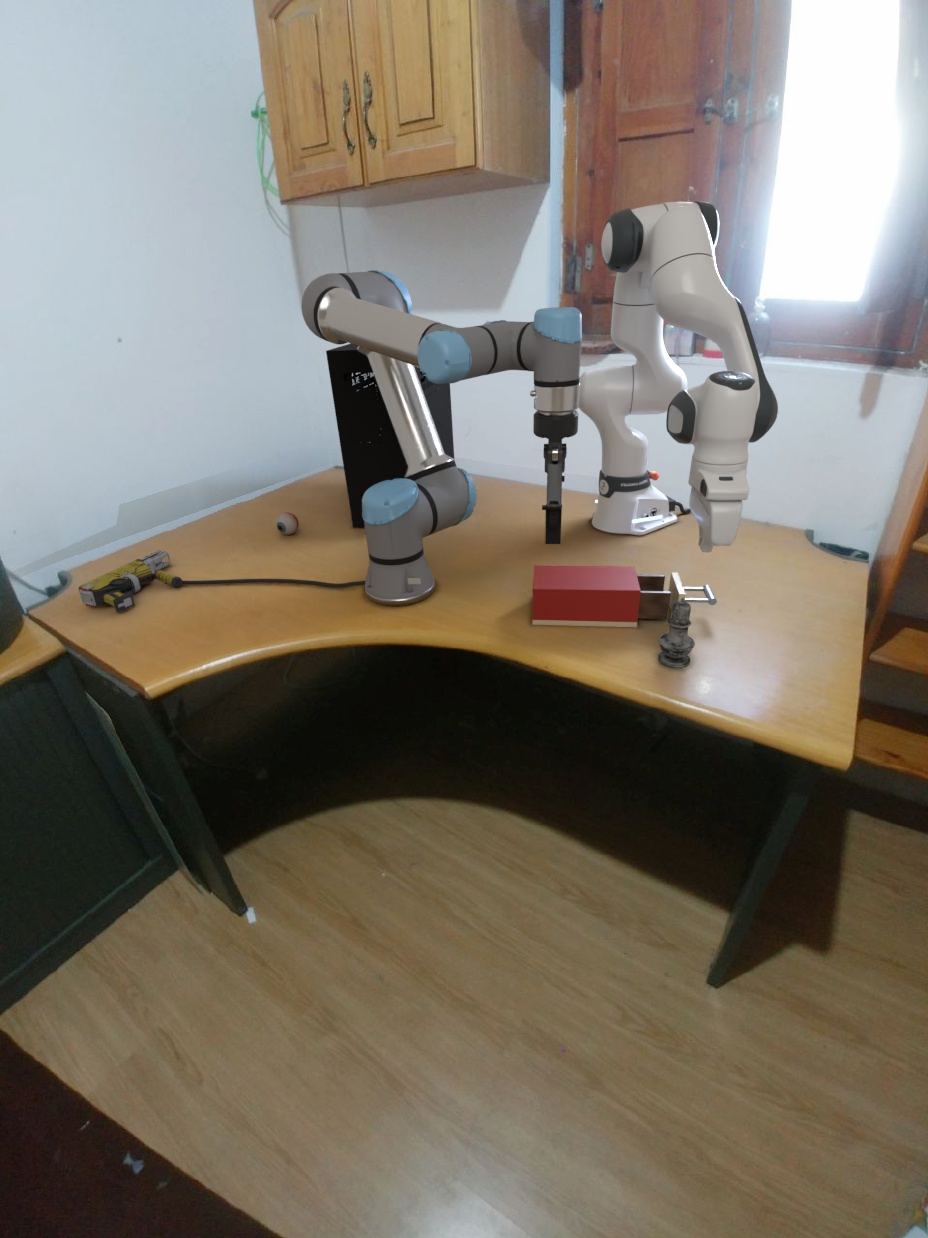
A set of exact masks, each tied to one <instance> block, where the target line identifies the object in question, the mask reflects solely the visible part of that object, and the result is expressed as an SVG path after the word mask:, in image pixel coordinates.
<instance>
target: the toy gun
mask: <svg viewBox="0 0 928 1238" xmlns="http://www.w3.org/2000/svg"><path fill="white" fill-rule="evenodd" d="M166 558H167V559H168V562H167V561H163V559H166ZM171 564H172V563H171V558H170V554H169V552H168V551H166V550H163V551H162V550H161V549H159V550H156V551H155V552H153V553H150V554H148V555H145V556H143V557H142V558H136V559H135V560H133V561H130V562H129V563H126V564H124V565H122V566H120V567H118V568H115V569H113V570H111V571H109V572H107V573H104V574H102V575H101V576H97V577H96V578H93V579H91V580H89V581H87V582H85V583H83V584H81V585H79V586H78V592H79V595H80V599H81V602H82V603H83V604H84V605H85V607H89V608H93V607H105V606H108V605H111V606H112V607H114V610H115V613H116V614H119V613H122V612H124V611H127V610H129V609H131V608H134V607H136V606H135V605H136V604H135V601H134V596H133V595H134V594H136V593H138V592H139V591H141V587H142V586H145V585H147V584H150V583H154V581H155V580H157V581H160V582H162V583H164V584H165V583H167V584H166V585H168V586H172V588H175V589H177V588H180V587H181V586H182V585H183V584H182V581H183V579H182V578H181V577H180V576H175V575H174V574H170V573H168V572H167V571H164V568H166V567H169V566H171Z"/></svg>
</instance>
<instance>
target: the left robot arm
mask: <svg viewBox="0 0 928 1238" xmlns="http://www.w3.org/2000/svg"><path fill="white" fill-rule="evenodd" d="M300 307H301V314H302V318H303V320H304V321H303V322H305V325H306V326H307V328H308V329H309V331H310V332H311V333H312V334H314V335H315V336H316V337H318V338H319V339H321V340H323V341H326V342H328V343H332V344H335V345H346V344H354V345H356V348H357V350H358V352H359V353H361V354H363V355H365V356H367V357H368V359H369V362H370V365H371V368H372V370H373V374H374V375H373V376H375V379H376V381H377V384H378V387H379V390H380V392H381V395H382V398H383V401H384V403H385V406H386V409H387V411H388V414H389V417H390V420H391V422H392V425H393V428H394V431H395V433H396V436H397V439H398V442H399V444H400V447H401V450H402V453H403V455H404V458H405V461H406V464H407V466H408V468H407V471H406V474H405V476H404V478H397V479H393V480H386V481H382V482H379V483H377V484H375V485H373V486H371V487H370V488H369V489H368V490H367V491H366V492H365V493H364V495H363V498H362V517H363V520H364V525H365V528H364V530H365V532H364V533H365V539H366V545H367V551H368V560H369V562H368V567H367V571H366V572H367V573H366V577H365V580H358V581H349V582H342V583H340V582H339V583H338V582H337V583H336V582H333V583H332V582H325V581H318V580H307V579H295V578H294V579H293V578H236V579H235V578H234V579H208V580H182V585H190V586H191V585H224V584H226V585H227V584H247V583H248V584H252V583H253V584H254V583H257V584H259V583H266V584H267V583H271V584H272V583H277V584H279V583H281V584H299V585H312V586H320V587H327V588H348V587H353V586H354V587H355V586H364V590H365V596H366V598H367V599H368V600H369V601H371V602H372V603H375V604H378V605H381V606H387V607H401V606H407V605H408V606H409V605H412V604H416V603H419V602H422V601H425V600H426V599H427V598H429V597H430V596H432V595H433V593H434V592H435V589H436V582H435V576H434V574H433V572H432V570H431V568H430V567H431V566H430V565H429V563H428V561H427V559H426V556H425V554H424V553H425V552H424V542H423V539H424V538H426V537H428V536H431V535H433V534H437V533H439V532H441V531H444V530H445V529H449V528H451V527H455V526H458V525H459V524H460V523H462V522H464V521H466V520H468V519H469V518H471V516H472V515H473V513H474V510H475V507H476V505H477V498H478V493H477V487H476V484H475V481H474V479H473V478H472V476H471V474H469V473H468V471H466V470H465V469H463V468H459V467H458V466H457V464H456V461H455V458H454V459H453V458H451V457H449V456H448V455H446V454H445V453H444V450H443V447H442V444H441V441H440V439H439V436H438V433H437V430H436V427H435V424H434V421H433V419H432V416H431V413H430V410H429V407H428V404H427V402H426V399H425V396H424V393H423V390H422V387H421V384H420V382H419V379H418V376H417V373H416V370H415V367H414V366H416V367H418V368H420V369H421V370H420V371H421V372H422V373H423V374H424V376H426V377H427V379H428V380H429V381H430V382H432V383H436V384H442V383H450V384H456V383H458V382H461V381H465V380H470V379H474V378H479V377H482V376H488V375H494V374H498V373H502V372H508V371H522V372H523V371H524V372H525V371H526V372H533V390H530V392H529V396H530V397H533V408H534V410H535V412H534V414H533V426H532V427H533V435H535V436H536V437H537V438H541V439H547V440H548V442H547V443H543V459H544V473H545V474H546V504H542V505H541V511H545V523H544V524H545V525H544V526H545V527H544V529H545V530H544V533H545V534H544V544H545V545H561V543H562V513H563V512H562V511H563V504H562V497H563V496H562V494H563V493H562V491H563V483H564V482H565V475H563V473H564V472H565V471H566V458H567V454H568V451H567V450H568V449H567V443H565V442H564V443H563V439H564V438H568V439H569V438H571V437H574V436H576V435H577V433H578V432H579V412H578V411H577V410H578V409H579V397H580V374H581V373H580V372H581V357H582V356H581V355H582V345H583V344H582V343H583V340H584V338H583V337H584V336H583V329H582V328H583V327H582V326H583V324H582V320H583V319H582V318H583V317H582V311H581V310H580V309H579V308H578V307H574V306H563V307H558V306H557V307H555V306H554V307H544V308H539V309H537V310H535V312H534V315H533V318H534V319H533V321H511V320H510V321H509V320H506V319H501V320H493V321H487V322H485V323H483V324H482V325H474V326H466V327H456V326H452V325H449V324H446V323H442V322H439V321H435V320H433V319H428V318H425V317H422V316H419V315H415V314H413V313H412V312H411V311H412V310H413V303H412V299H411V295H410V292H409V290H408V288H407V286H406V285H405V283H404V282H403V281H402V279H401V278H400V277H398V276H397V275H396V274H394V273H392V272H389V271H379V270H372V269H371V270H367V271H357V272H355V271H354V272H339V273H338V272H337V273H336V272H333V273H332V272H331V273H325V274H322V275H319V276H318V277H316V278H314V279H312V280H311V282H310V283H309V284H308V285H307V287H306V288H305V290H304V292H303V294H302V298H301V306H300ZM164 584H166V585H168V584H167V583H164Z"/></svg>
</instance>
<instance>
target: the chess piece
mask: <svg viewBox="0 0 928 1238" xmlns="http://www.w3.org/2000/svg"><path fill="white" fill-rule="evenodd" d="M684 601H685V599H684V598H682V599H681V601H679V602H676V603H674V604H673V607H672V611H671V616H670V618H668V619H667V622H668V625H669V626H668V630H667V632H665V633H663V634H661V635H660V636H659V637H658V643H659V647H660V649H661V651H660V653H658V655H657V656H658V657H657V658H658V660H659V662H660V663H661V664H663V665H664V666H667V667H669V668H684V667H687V666H689V665H690V663H691V658H690V656H689V655H690V653H691V652H692V650H693V649H695V646H696V641H695V640H694V639H693V638H692V637H691V636H689V634H688V633H689V627H690V626H691V625H692V621H691V620H690V617H691V611H692V607H691V604H690V603H689V602H684Z"/></svg>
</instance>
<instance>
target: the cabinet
mask: <svg viewBox="0 0 928 1238" xmlns="http://www.w3.org/2000/svg"><path fill="white" fill-rule="evenodd" d="M533 566H534V567H533V580H532V606H531V607H532V609H531V610H532V611H531V613H532V617H531V625H532V626H535V625H536V626H567V627H568V626H570V627H572V626H573V627H579V626H580V627H607V628H608V627H611V628H638V621H639V618H638V612H639V603H640V593H641V590H640V586H639V582H638V578H637V571H636V567H635V566H633V565H630V566H629V565H628V566H625V565H624V566H623V565H621V566H620V565H616V566H615V565H543V564H542V565H540V564H539V565H538V564H536V565H533Z"/></svg>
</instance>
